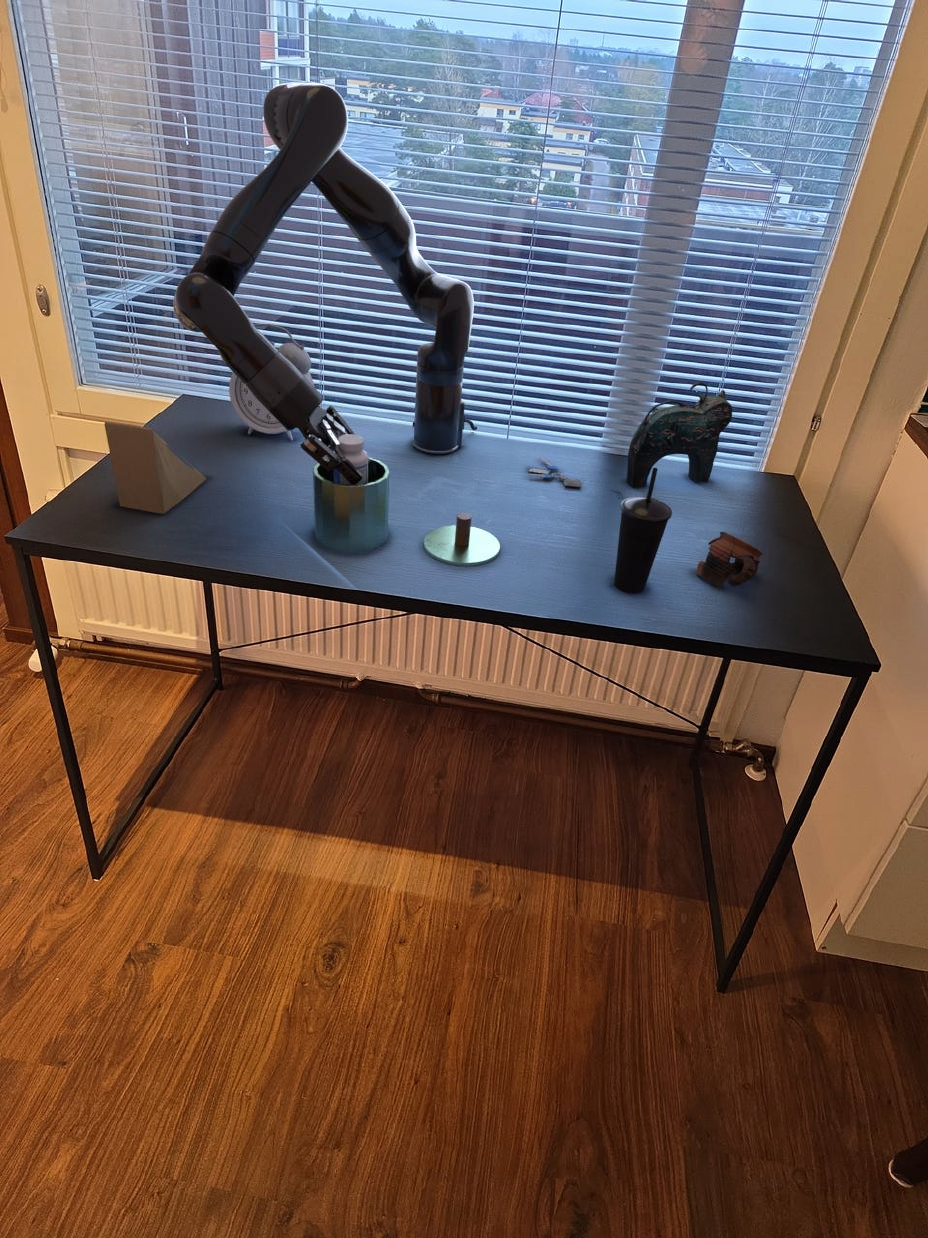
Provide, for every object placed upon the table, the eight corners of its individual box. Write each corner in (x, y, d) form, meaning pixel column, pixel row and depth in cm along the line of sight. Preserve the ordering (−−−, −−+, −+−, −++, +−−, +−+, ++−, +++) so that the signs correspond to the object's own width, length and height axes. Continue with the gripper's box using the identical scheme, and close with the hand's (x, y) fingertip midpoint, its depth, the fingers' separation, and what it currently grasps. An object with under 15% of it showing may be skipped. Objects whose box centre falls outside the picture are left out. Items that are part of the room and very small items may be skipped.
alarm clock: (228, 434, 167) (218, 324, 155) (244, 420, 175) (236, 313, 162) (306, 445, 166) (302, 335, 154) (319, 430, 173) (317, 323, 161)
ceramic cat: (703, 471, 170) (728, 376, 159) (721, 485, 165) (747, 387, 154) (618, 478, 164) (638, 379, 153) (633, 492, 159) (655, 391, 148)
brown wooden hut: (681, 566, 137) (707, 522, 136) (723, 588, 141) (749, 546, 139) (718, 588, 126) (746, 540, 125) (763, 611, 130) (791, 565, 128)
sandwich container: (208, 478, 150) (200, 398, 142) (165, 514, 138) (152, 429, 129) (165, 470, 152) (154, 391, 143) (118, 505, 139) (103, 421, 131)
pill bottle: (336, 487, 134) (336, 430, 129) (369, 489, 135) (370, 433, 129) (331, 502, 130) (330, 444, 124) (365, 504, 130) (365, 447, 125)
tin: (363, 514, 143) (363, 449, 136) (400, 543, 136) (403, 476, 129) (302, 530, 137) (300, 463, 130) (338, 561, 129) (337, 492, 123)
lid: (468, 525, 143) (471, 492, 140) (514, 556, 135) (519, 523, 132) (408, 542, 136) (409, 508, 133) (453, 576, 128) (456, 542, 125)
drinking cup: (658, 581, 132) (686, 465, 121) (646, 603, 126) (675, 484, 115) (612, 568, 134) (636, 453, 123) (599, 589, 128) (622, 471, 117)
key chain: (587, 486, 160) (588, 482, 159) (554, 494, 155) (555, 490, 155) (542, 459, 169) (542, 456, 168) (510, 466, 165) (511, 462, 164)
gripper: (288, 391, 116) (371, 478, 122) (312, 361, 128) (386, 442, 134) (254, 423, 119) (336, 506, 126) (280, 391, 131) (354, 468, 137)
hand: (362, 472), depth 130 cm, fingers closed on pill bottle, 5 cm apart
